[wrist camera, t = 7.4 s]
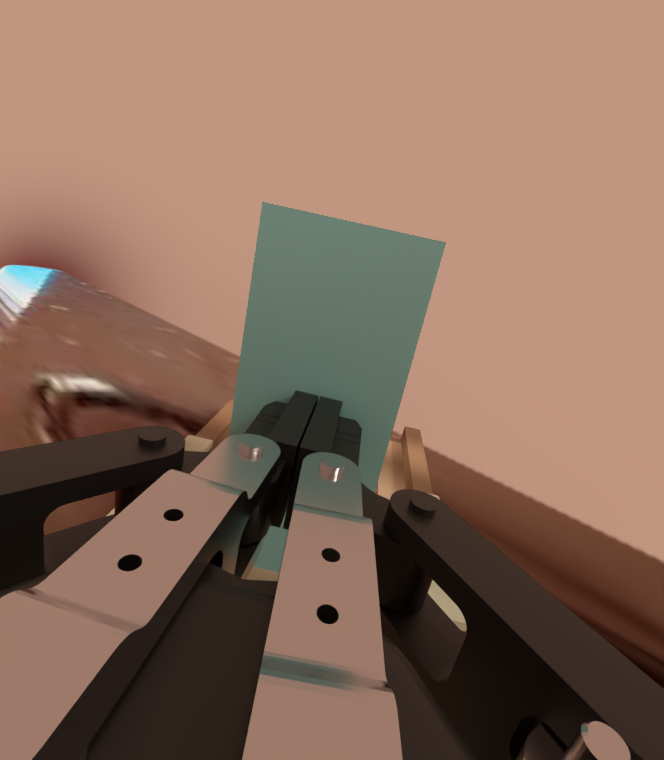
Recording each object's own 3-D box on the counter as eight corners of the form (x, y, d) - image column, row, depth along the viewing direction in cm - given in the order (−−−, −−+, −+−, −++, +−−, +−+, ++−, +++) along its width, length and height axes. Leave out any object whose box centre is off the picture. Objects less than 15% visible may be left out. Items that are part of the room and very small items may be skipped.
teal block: (346, 590, 15) (445, 242, 11) (211, 555, 15) (262, 201, 11) (354, 506, 20) (425, 243, 16) (251, 481, 20) (297, 215, 16)
